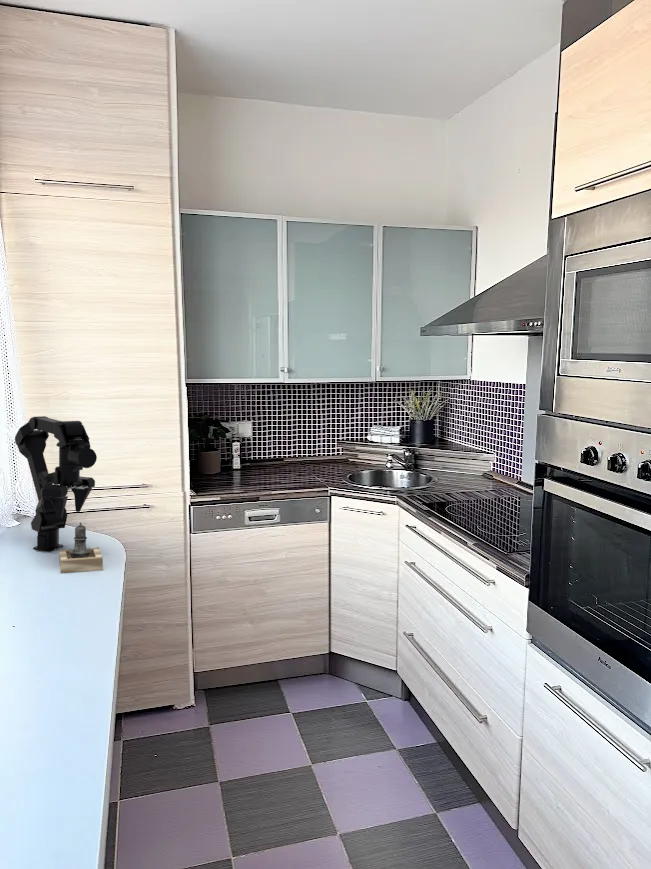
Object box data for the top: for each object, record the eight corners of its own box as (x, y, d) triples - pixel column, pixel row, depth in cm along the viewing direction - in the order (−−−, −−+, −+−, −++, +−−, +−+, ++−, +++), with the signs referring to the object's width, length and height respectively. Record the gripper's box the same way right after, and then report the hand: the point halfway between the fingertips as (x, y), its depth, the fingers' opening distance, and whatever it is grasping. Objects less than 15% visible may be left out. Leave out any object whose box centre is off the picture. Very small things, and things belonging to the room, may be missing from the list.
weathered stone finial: (83, 567, 187) (84, 525, 186) (64, 564, 188) (65, 523, 187) (94, 561, 193) (95, 521, 192) (76, 558, 194) (77, 519, 193)
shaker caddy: (59, 561, 193) (59, 549, 193) (98, 558, 198) (98, 547, 197) (60, 573, 183) (61, 561, 183) (102, 570, 188) (102, 558, 187)
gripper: (63, 456, 205) (63, 506, 207) (24, 465, 187) (24, 519, 189) (96, 459, 203) (95, 509, 204) (59, 468, 185) (59, 523, 186)
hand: (68, 515), depth 196 cm, fingers open, 9 cm apart
